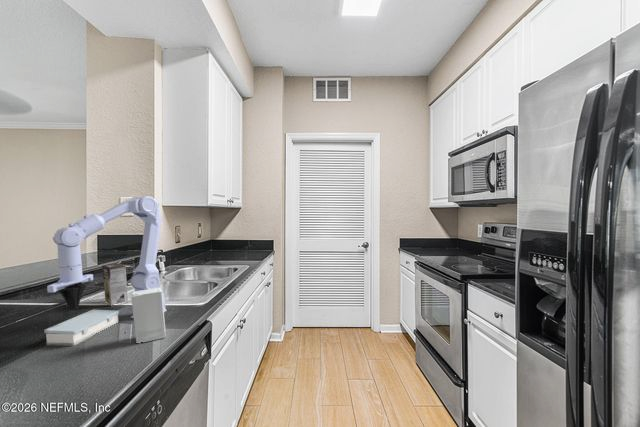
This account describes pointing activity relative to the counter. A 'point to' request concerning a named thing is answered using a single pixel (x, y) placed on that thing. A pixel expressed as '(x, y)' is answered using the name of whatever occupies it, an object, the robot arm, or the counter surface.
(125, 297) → the coffee box
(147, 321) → the skincare box
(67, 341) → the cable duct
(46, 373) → the counter surface
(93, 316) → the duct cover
